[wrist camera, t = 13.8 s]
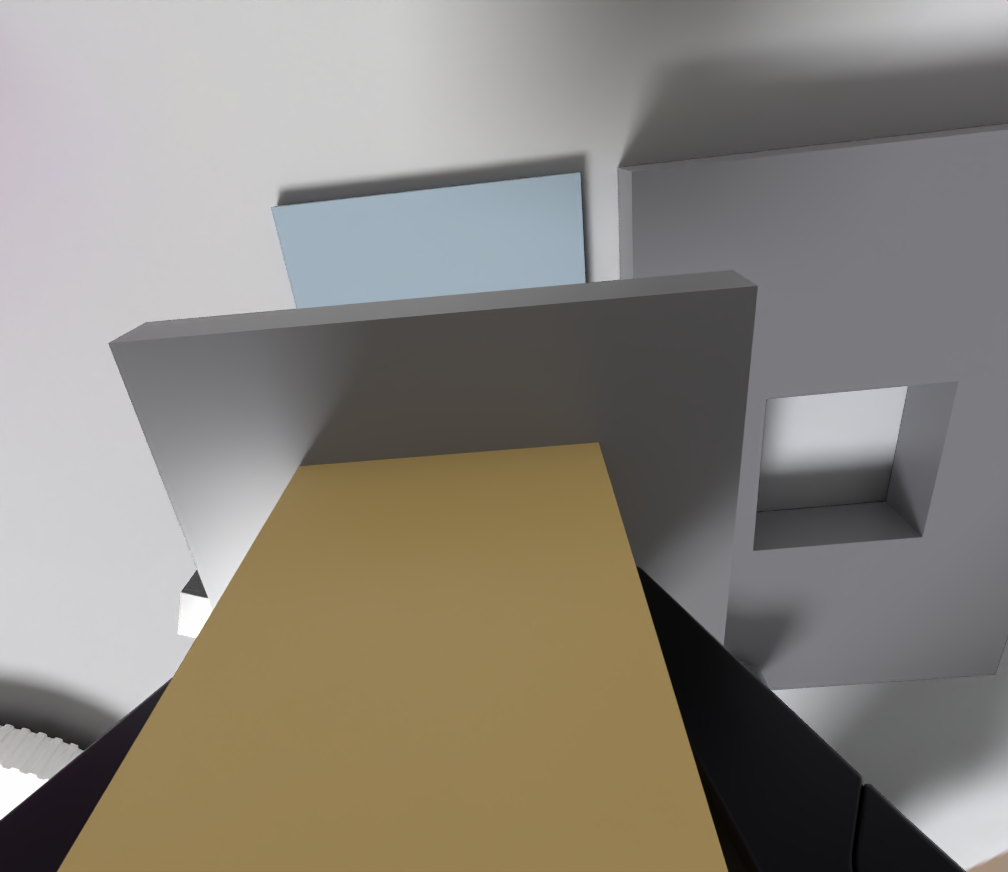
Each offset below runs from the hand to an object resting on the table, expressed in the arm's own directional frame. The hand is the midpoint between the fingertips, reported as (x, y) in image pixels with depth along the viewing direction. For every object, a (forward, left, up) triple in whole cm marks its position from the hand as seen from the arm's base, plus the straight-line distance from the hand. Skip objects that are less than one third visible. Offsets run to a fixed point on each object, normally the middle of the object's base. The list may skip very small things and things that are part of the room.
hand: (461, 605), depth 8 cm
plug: (0, 0, -4) cm, 4 cm away
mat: (0, +1, -11) cm, 11 cm away
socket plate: (-4, -10, -11) cm, 16 cm away
